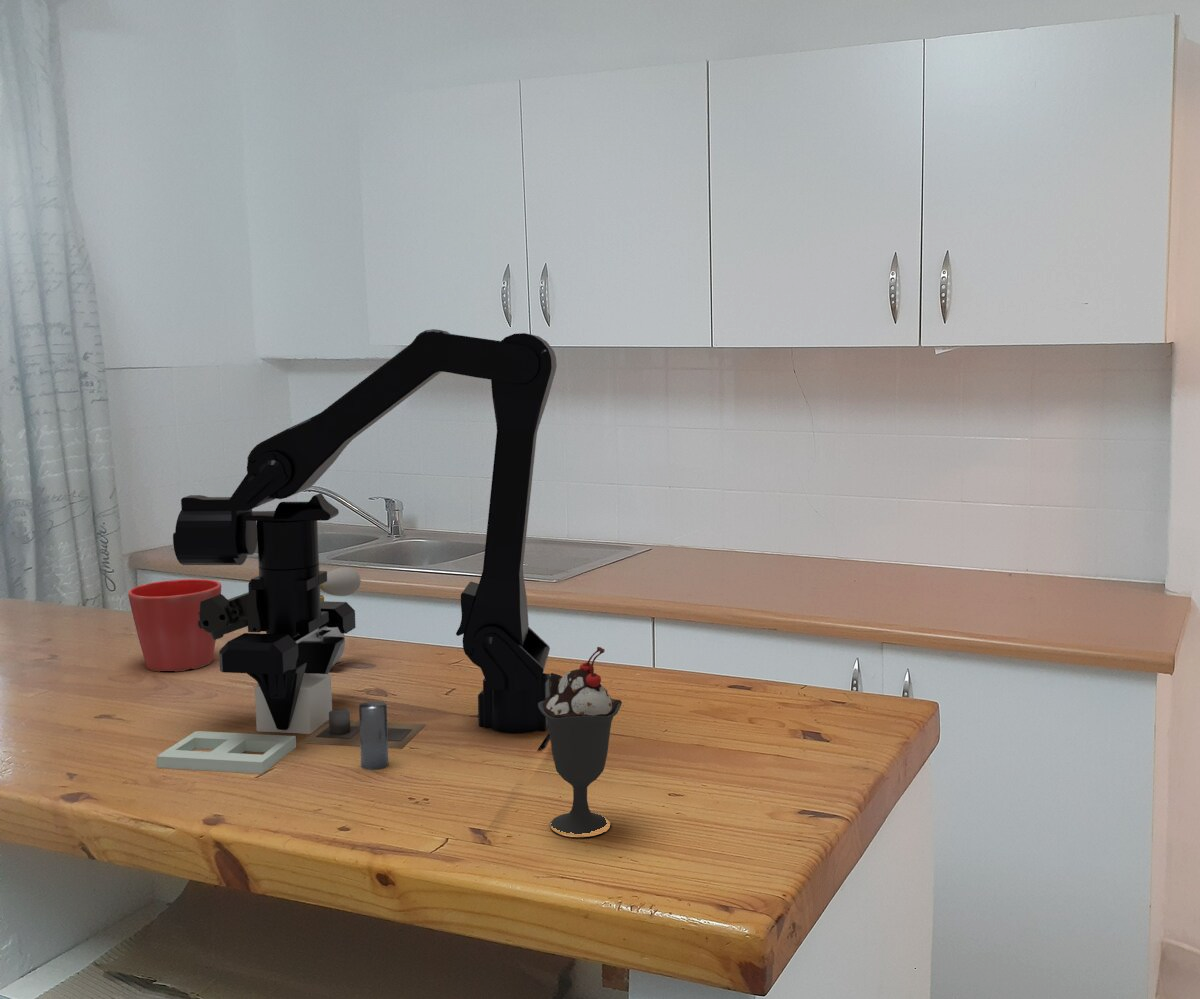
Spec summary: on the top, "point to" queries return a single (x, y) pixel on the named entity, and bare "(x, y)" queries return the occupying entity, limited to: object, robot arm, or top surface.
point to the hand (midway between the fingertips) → (295, 719)
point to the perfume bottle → (340, 594)
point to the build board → (227, 752)
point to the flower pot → (173, 623)
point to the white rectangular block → (300, 706)
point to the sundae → (579, 738)
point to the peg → (373, 735)
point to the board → (358, 731)
